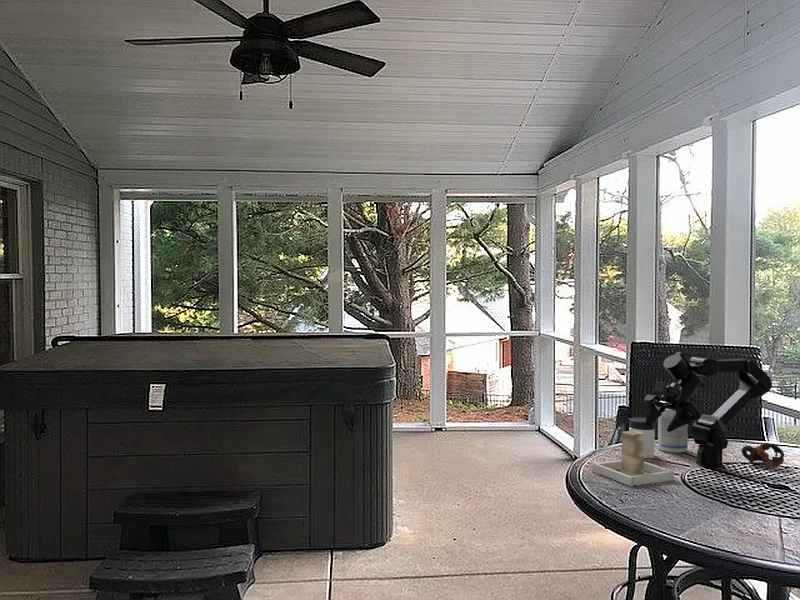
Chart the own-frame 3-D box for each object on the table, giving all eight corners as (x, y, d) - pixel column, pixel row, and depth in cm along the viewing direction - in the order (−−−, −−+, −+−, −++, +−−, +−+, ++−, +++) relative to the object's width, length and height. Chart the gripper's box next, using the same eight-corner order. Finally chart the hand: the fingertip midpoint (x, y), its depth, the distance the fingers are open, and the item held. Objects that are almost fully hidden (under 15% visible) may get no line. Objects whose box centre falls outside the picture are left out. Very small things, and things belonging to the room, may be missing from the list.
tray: (634, 466, 217) (634, 458, 217) (674, 480, 202) (674, 471, 202) (592, 471, 211) (592, 463, 211) (630, 486, 196) (630, 477, 196)
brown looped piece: (774, 463, 224) (785, 445, 219) (778, 483, 216) (789, 464, 212) (735, 452, 226) (745, 433, 222) (738, 471, 219) (747, 452, 214)
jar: (660, 456, 230) (661, 420, 230) (647, 460, 225) (647, 423, 225) (636, 450, 237) (637, 416, 237) (622, 454, 232) (623, 419, 232)
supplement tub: (693, 452, 235) (694, 409, 235) (668, 454, 233) (669, 410, 232) (675, 446, 244) (676, 404, 244) (651, 447, 242) (652, 405, 242)
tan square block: (632, 473, 210) (633, 430, 209) (643, 477, 205) (644, 433, 205) (621, 474, 208) (621, 431, 207) (631, 478, 204) (632, 434, 203)
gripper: (648, 369, 220) (620, 406, 216) (693, 375, 203) (664, 416, 199) (667, 392, 223) (640, 429, 219) (713, 400, 206) (685, 440, 202)
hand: (656, 428), depth 210 cm, fingers open, 9 cm apart
